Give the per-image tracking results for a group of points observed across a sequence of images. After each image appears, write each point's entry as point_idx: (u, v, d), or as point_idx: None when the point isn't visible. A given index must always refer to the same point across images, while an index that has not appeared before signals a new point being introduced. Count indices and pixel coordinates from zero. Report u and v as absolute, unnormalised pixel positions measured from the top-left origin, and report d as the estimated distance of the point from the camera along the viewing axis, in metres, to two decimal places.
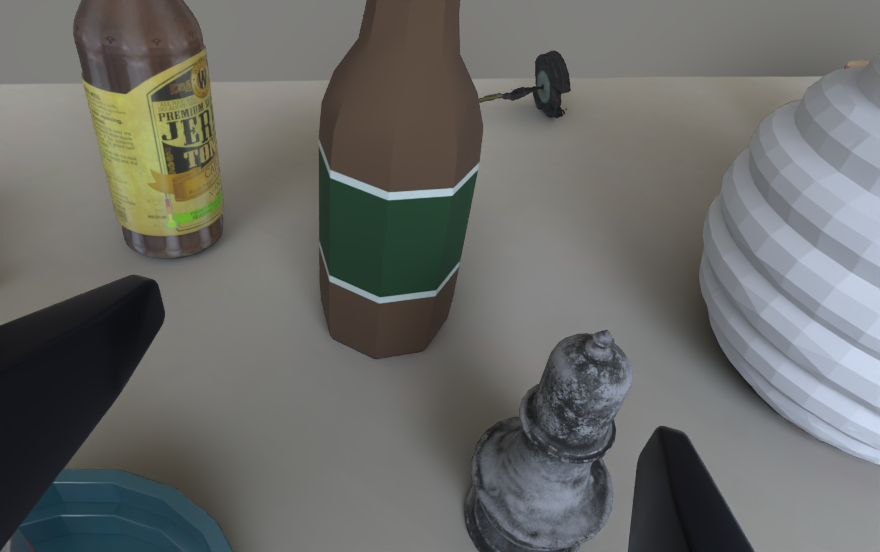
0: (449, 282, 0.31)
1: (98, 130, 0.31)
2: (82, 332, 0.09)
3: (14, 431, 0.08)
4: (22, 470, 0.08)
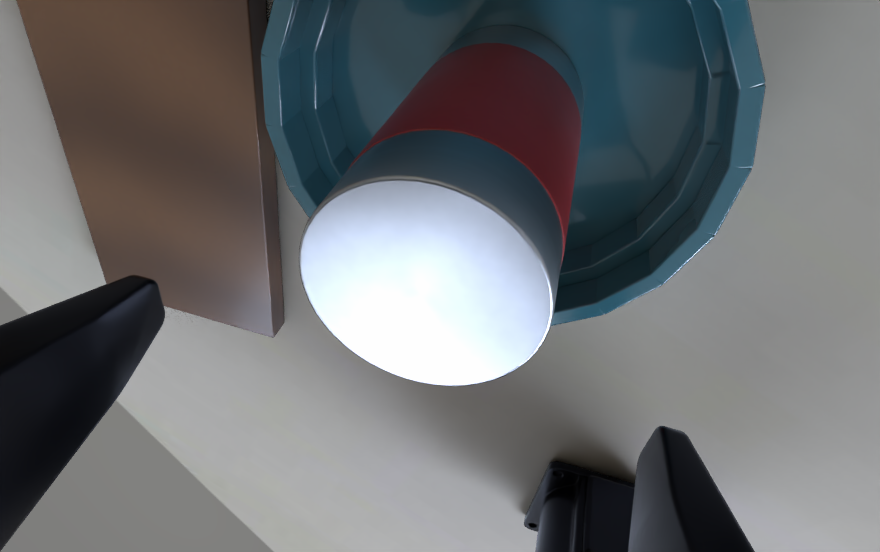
0: None
1: None
2: (82, 332, 0.09)
3: (14, 431, 0.08)
4: (22, 470, 0.08)
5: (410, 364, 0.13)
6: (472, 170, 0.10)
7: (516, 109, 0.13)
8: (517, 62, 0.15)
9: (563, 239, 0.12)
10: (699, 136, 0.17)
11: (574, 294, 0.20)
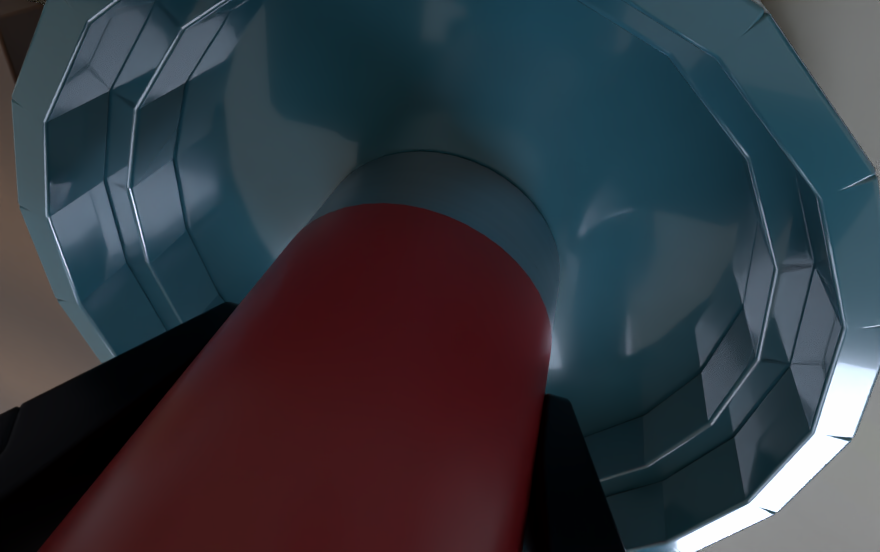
0: None
1: None
2: None
3: None
4: None
5: None
6: None
7: (394, 430, 0.06)
8: (427, 259, 0.08)
9: None
10: (748, 339, 0.10)
11: None
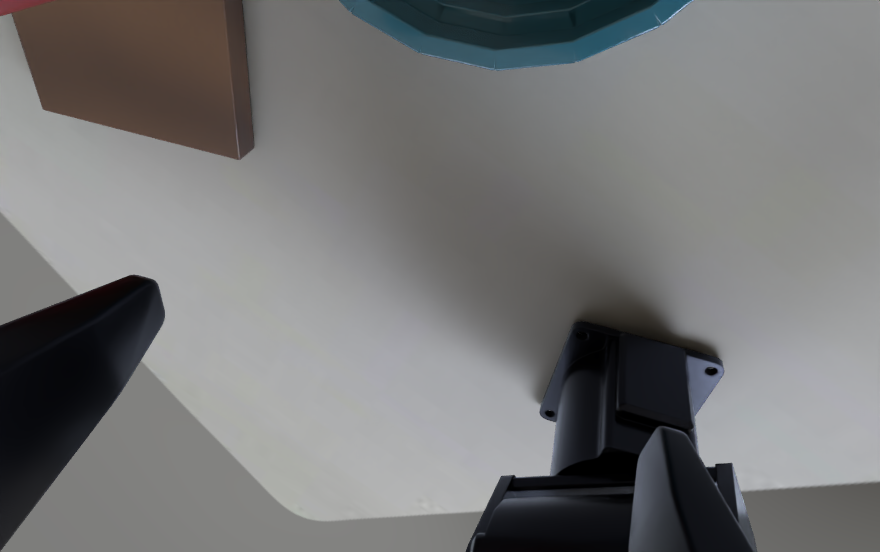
0: None
1: None
2: (82, 332, 0.09)
3: (14, 431, 0.08)
4: (22, 470, 0.08)
5: None
6: None
7: None
8: None
9: None
10: None
11: (619, 12, 0.15)
